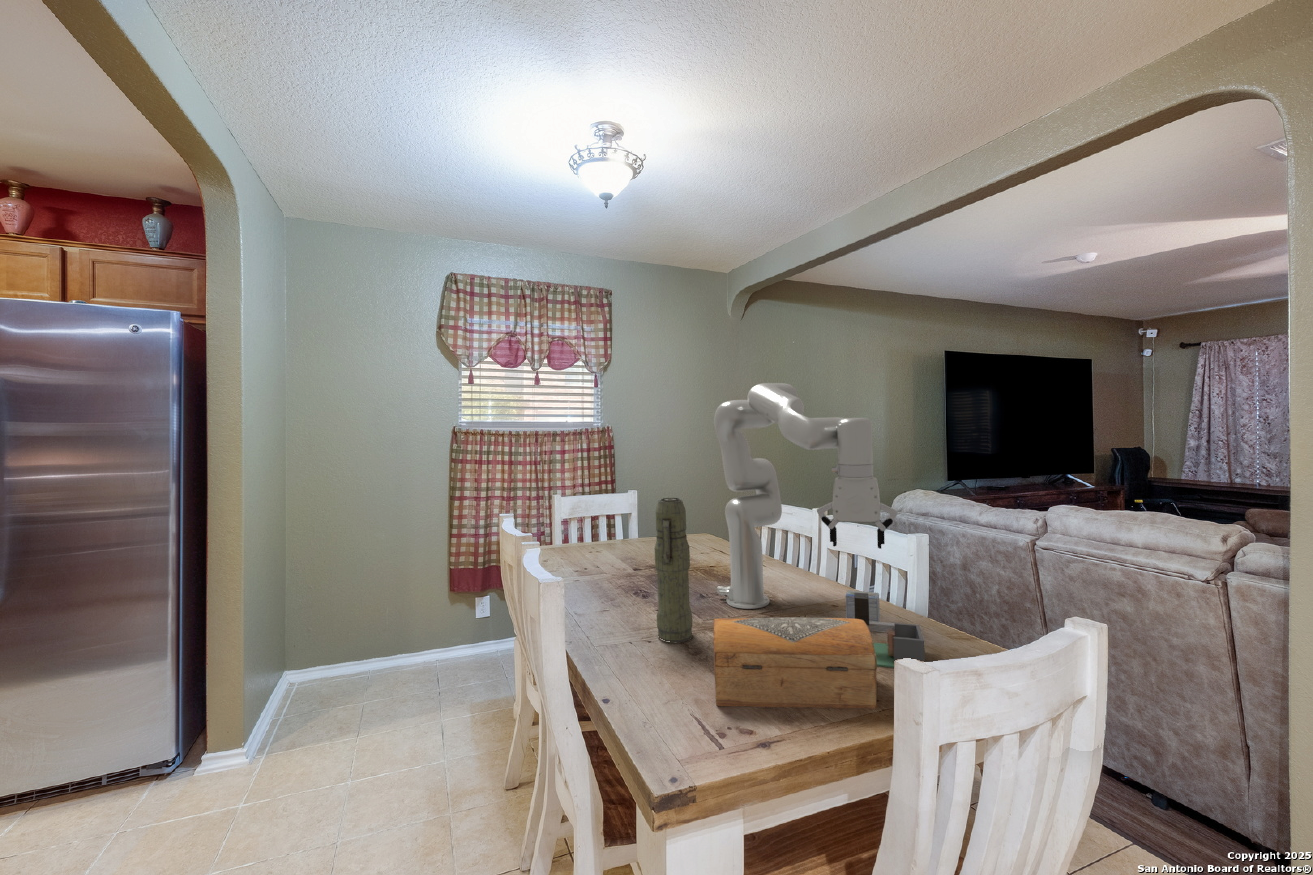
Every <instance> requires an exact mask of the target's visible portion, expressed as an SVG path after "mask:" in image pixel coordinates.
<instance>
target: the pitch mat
mask: <svg viewBox="0 0 1313 875" xmlns="http://www.w3.org/2000/svg"><path fill="white" fill-rule="evenodd" d="M873 646H874V651H875V654H876V660H877V667H883V668H893V669H895V668H894V657H893V656H888V651H887V643H882V642H880V643H879V642H873Z"/></svg>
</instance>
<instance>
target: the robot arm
mask: <svg viewBox="0 0 1313 875" xmlns="http://www.w3.org/2000/svg"><path fill="white" fill-rule="evenodd" d="M804 413H805V405H804V402H803V401H802V399H801V398H800V397H799V394H798V391H797V389H796V388H795V387H794V386H793V385H792V384H789V383H786V382H782V383H781V382H763V383H762V382H761V383H758V384H756V385H754V386H753V387H751V388H750V390H749V391H748V393H747V399H734V400H732V399H731V400H728V401H724V402H722V403H720V405H718V407H717V408H716V409H715V412H714V416H713V426H714V431H715V435H716V439H717V440H718V443H719V447H720V451H721V459H722V467H723V472H724V478H725V483H726V486H727V488H728V490H731V491H732V492H739V493H740V492H749V491H755V493H756V494H750V495H741V496H737V497H733V498H732V499H730V500H729V501H727V503H726V506H725V508H724V516H725V522H726V525H727V530H728V538H729V562H730V585H727V586H723V585H722V586H719V585H718V586H717V587H716V590H717V591H716V592H717V593H718V594H719V595H723V596H724V595H725V596H727V597H726V598H725V599H726V600H725V602H726V604H728V605H729V606H730V607H733V608H736V609H742V610H743V609H745V610H752V609H760V608H765V607H766V606H768V605H770V604H769V603H770V597H769V596H768V595H765V592H764V588H765V587H764V563H763V562H764V561H763V558H764V557H763V556H764V555H763V543H762V542H763V541H762V540H761V537H760V535H759V534H758V532H757V531H756V528H758V527H765V526H770V525H774V524H777V523H778V522H779V521H780V519H781V517H782V511H783V508H782V498H781V493H780V487H779V481H778V475H777V472H776V469H775V467H774V465H773V464H772V462H771V461H769V460H768V459H766V458H764V457H763V458H760V457H759V458H756V457H755V458H752V455H751V449H750V444H749V442H748V440H747V438H746V436H744V434H743V433H742V432H741V431H740V430H742V429H762V428H767V427H769V426H771V425H773V424H777V425H778V429H779V431H780V433H781V435H782V436H783V438H785V439H786V440H787V441H789V442H791V443H793V444H794V445H795V446H798V447H799V448H802V449H805V450H811V451H813V450H814V451H815V450H828V449H829V450H831V449H832V450H833V449H837V465H835V466H831V473H834V474H837V475H838V476H837V477H835V478H834V481H833V482H834V483H833V486H832V487H833V488H832V490H833V491H832V501H830V502H829V503H826V504H824V505H822V506H821V507H818V508H817V509H816V512H817V514H818V516H819V518H820V520H821V522H822V523H824V525H826V527H828V529H829V542H830V543H832V547H837V545H838V544H837V543H838V542H837V540H838V539H837V538H838V537H837V527H836V525H838V524H839V523H853V524H854V523H855V524H856V523H857V524H859V523H860V524H875V526H876V527H877V530H876V531H877V532H876V533H877V536H876V537H877V549H882V545H885V531H886V530H887V529H888V527H890V526H891V525H892V524H893V522H894V520H895V519H896V517H897V516H898V510H897V509H895V508H892V507H890V506H888V505H886V504H885V503H883V502H881V498H880V489H879V482H878V478H877V477H874V447H873V422H872V420H871V419H869V418H867V417H847V418H846V417H841V416H840V417H839V416H837V417H836V416H833V417H827V416H826V417H808V416H806V415H804ZM831 509H832V519H830V518H829V517H827V515H826V513H825V512H828V511H829V510H831ZM881 511H883V512H885V513H888V514H889V515H888V517H886V519H885V520H884V521H882V520H881Z"/></svg>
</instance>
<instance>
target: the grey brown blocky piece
mask: <svg viewBox="0 0 1313 875" xmlns="http://www.w3.org/2000/svg"><path fill="white" fill-rule="evenodd" d="M854 604H855V619H861V620H863V621H864V622H865V623H866V624H867V626H868V628H869V630H870V632H880V633H886V644H887V651H888V656H893V657H894V639H893V637H895V625H894V623H895V622H892V623H891V622H887V621H886V622H885V621H882V622H881V621H880V622H874V621H869V598H868V593H854Z"/></svg>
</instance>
